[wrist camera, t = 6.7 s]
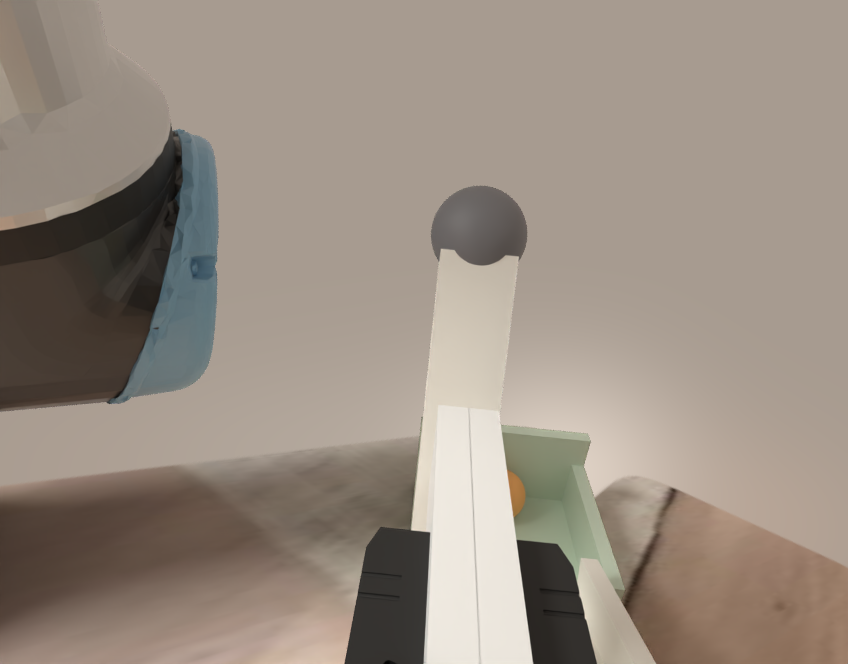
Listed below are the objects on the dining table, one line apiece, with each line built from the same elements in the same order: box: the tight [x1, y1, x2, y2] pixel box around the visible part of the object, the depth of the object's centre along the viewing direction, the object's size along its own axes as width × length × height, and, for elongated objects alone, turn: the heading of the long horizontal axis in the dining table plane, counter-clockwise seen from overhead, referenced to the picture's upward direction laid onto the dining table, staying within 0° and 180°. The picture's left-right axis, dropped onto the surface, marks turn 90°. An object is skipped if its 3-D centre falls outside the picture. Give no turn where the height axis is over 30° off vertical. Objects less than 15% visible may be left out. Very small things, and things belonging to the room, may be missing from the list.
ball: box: [507, 470, 526, 518], centre depth 33 cm, size 3×3×3 cm
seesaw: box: [412, 186, 656, 664], centre depth 15 cm, size 18×9×18 cm, turn 177°
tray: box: [410, 417, 625, 601], centre depth 31 cm, size 10×11×6 cm
